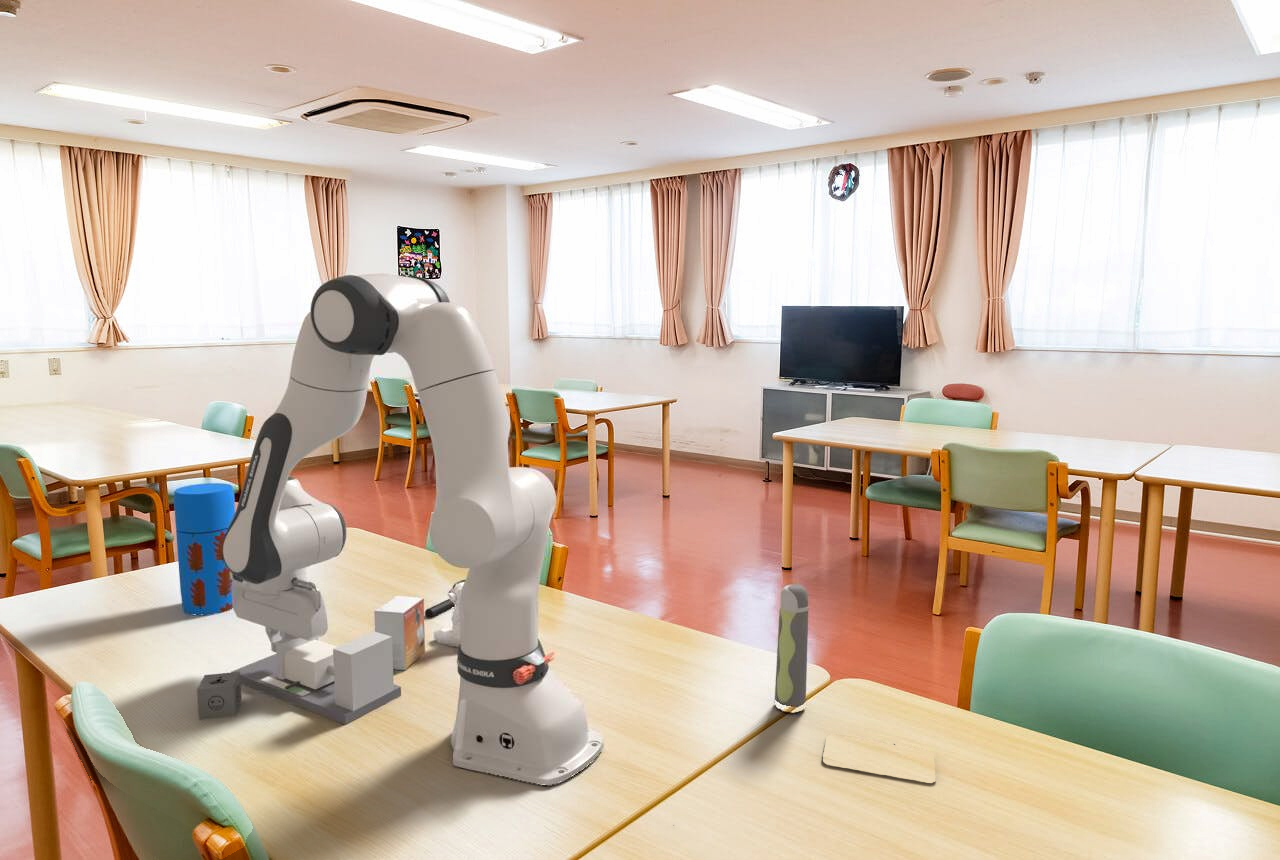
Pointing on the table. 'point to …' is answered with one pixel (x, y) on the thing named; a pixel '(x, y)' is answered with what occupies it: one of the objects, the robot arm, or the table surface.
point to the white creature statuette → (446, 634)
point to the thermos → (203, 546)
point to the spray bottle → (792, 647)
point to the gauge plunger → (305, 662)
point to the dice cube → (219, 695)
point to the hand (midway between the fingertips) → (281, 652)
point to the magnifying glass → (440, 606)
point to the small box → (403, 628)
